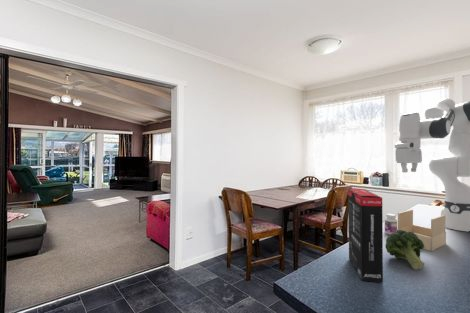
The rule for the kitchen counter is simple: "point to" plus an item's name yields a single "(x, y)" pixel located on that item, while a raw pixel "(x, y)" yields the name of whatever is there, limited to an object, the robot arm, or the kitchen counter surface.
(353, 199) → the graphics card box
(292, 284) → the kitchen counter surface
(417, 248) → the vegetable
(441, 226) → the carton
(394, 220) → the pill bottle
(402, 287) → the kitchen counter surface
